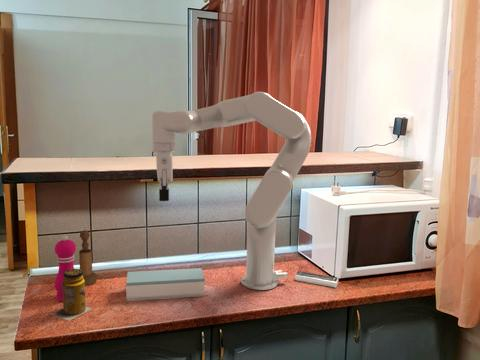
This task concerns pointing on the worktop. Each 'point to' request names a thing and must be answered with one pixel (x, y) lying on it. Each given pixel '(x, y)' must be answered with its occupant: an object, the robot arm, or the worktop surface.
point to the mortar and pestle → (86, 260)
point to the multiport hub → (316, 279)
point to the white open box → (165, 290)
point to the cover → (164, 276)
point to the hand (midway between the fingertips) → (164, 200)
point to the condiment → (72, 295)
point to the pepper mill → (63, 262)
